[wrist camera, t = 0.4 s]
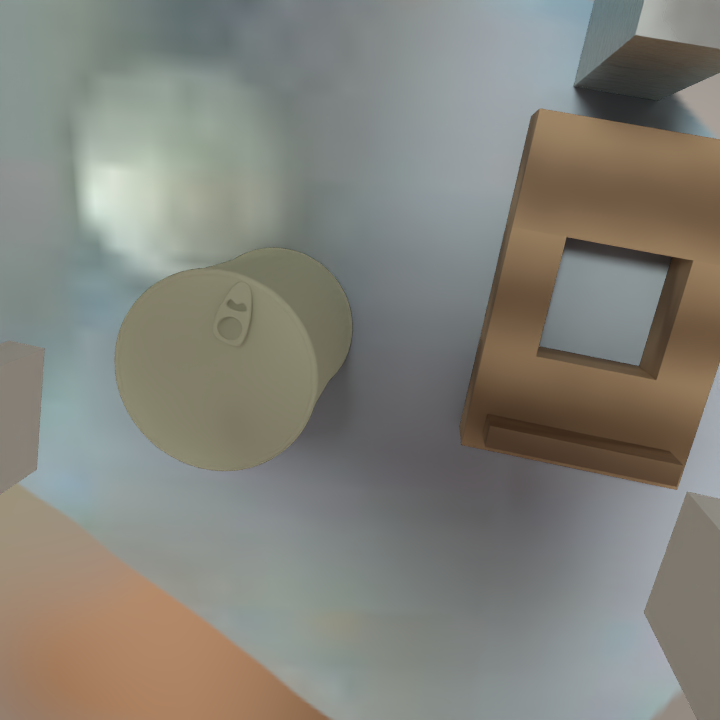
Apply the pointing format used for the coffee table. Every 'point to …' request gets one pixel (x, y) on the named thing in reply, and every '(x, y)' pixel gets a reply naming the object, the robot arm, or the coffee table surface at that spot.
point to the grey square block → (650, 46)
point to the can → (232, 356)
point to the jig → (535, 286)
